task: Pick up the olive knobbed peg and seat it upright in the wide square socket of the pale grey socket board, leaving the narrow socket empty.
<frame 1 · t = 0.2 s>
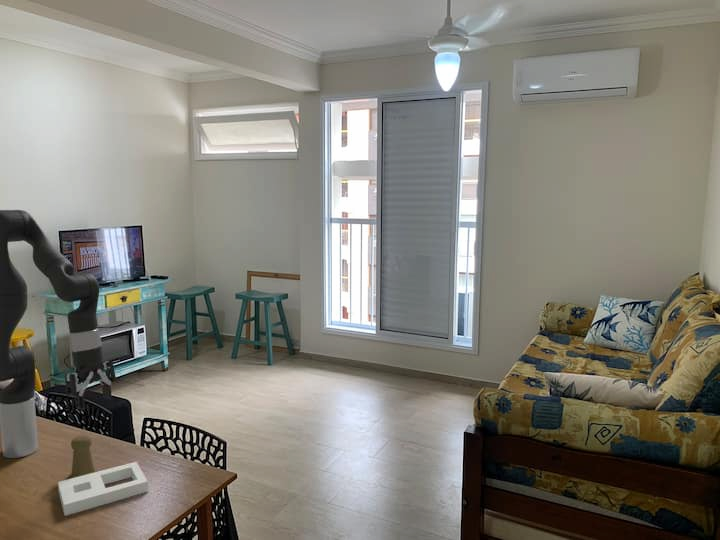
hand: (94, 403, 147), 22 cm above the table, fingers open, 8 cm apart
socket board: (103, 491, 144), on the table
olive knobbed peg: (83, 473, 153), on the table
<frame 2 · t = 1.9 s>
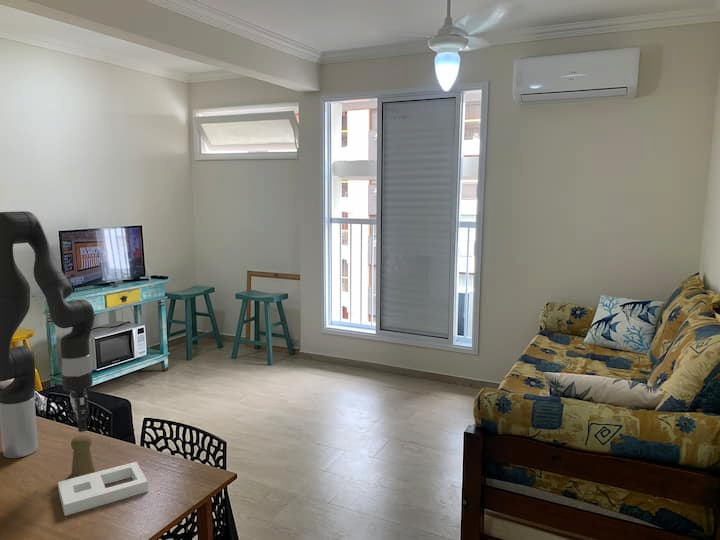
hand: (80, 425, 151), 14 cm above the table, fingers open, 8 cm apart
nothing on the table moved.
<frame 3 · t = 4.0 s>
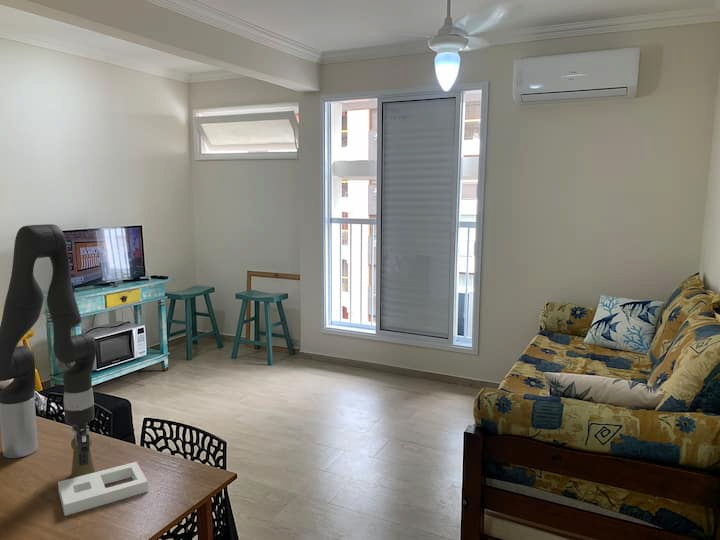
hand: (82, 460, 153), 4 cm above the table, fingers closed on olive knobbed peg, 4 cm apart
olive knobbed peg: (83, 473, 153), on the table, touching gripper
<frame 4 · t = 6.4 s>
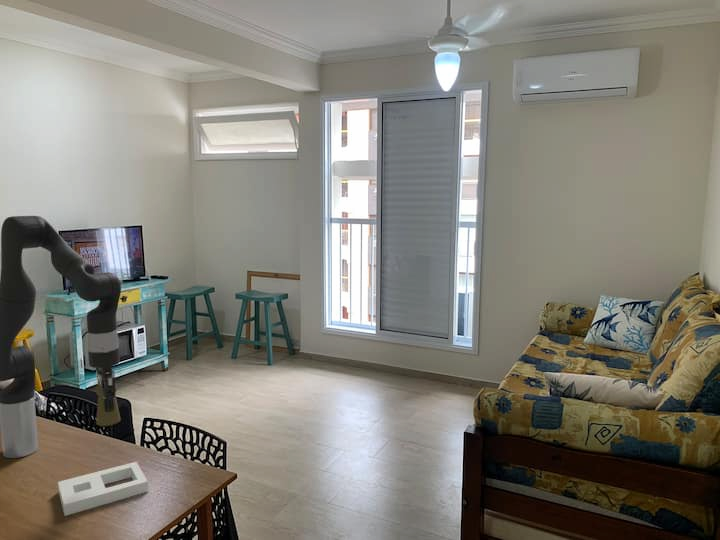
hand: (107, 408, 145), 22 cm above the table, fingers closed on olive knobbed peg, 4 cm apart
olive knobbed peg: (108, 422, 145), point 18 cm above the table, touching gripper
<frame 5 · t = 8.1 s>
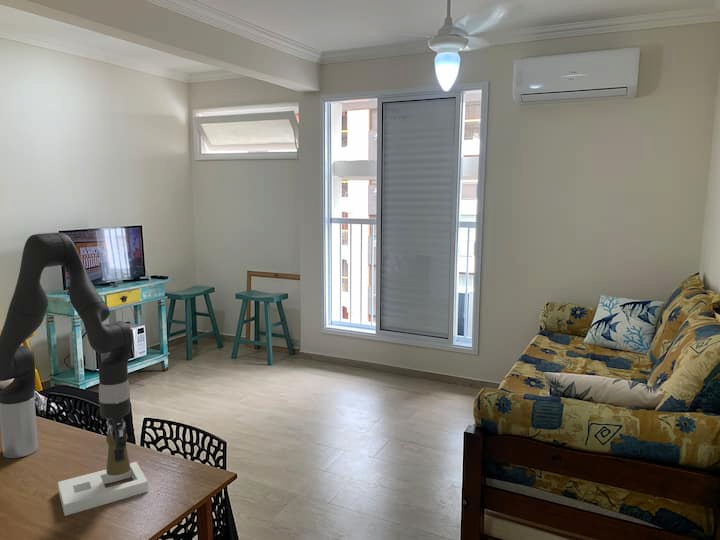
hand: (117, 456, 145), 9 cm above the table, fingers closed on olive knobbed peg, 4 cm apart
olive knobbed peg: (118, 470, 145), point 5 cm above the table, touching gripper
when the fingers open (5 cm above the table, at t = 9.3 s): olive knobbed peg drops 1 cm, resting in socket board.
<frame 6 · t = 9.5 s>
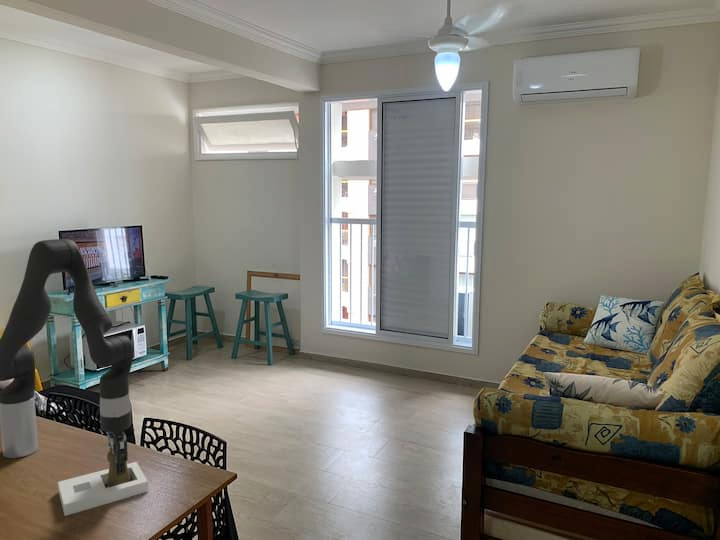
hand: (118, 468, 145), 6 cm above the table, fingers open, 6 cm apart
olive knobbed peg: (119, 487, 146), resting in socket board
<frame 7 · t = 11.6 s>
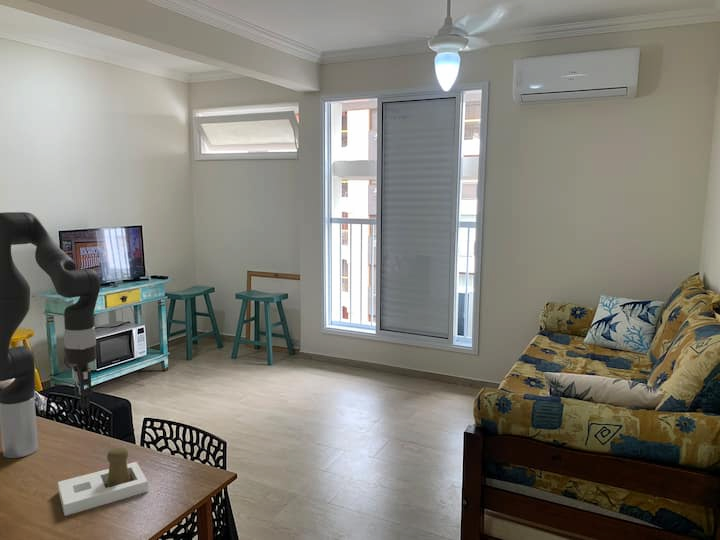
hand: (82, 401, 144), 24 cm above the table, fingers open, 8 cm apart
nothing on the table moved.
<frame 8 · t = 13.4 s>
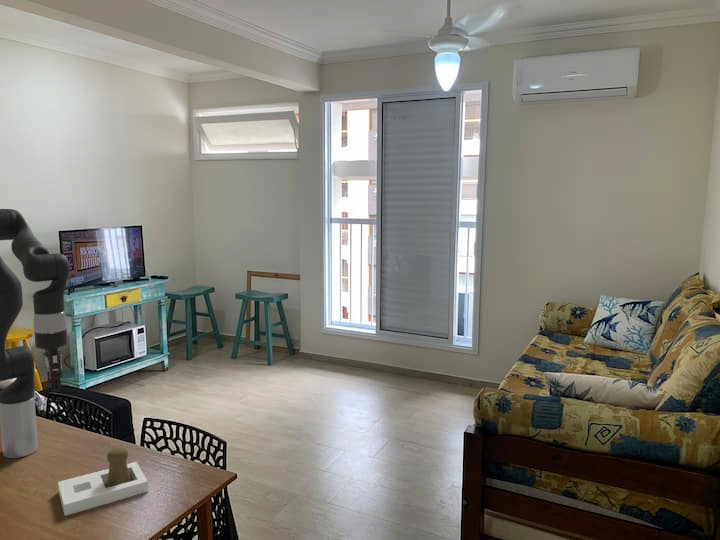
hand: (54, 386, 144), 28 cm above the table, fingers open, 8 cm apart
nothing on the table moved.
at the end: olive knobbed peg 0.3 cm from the target spot on the socket board, point 0.0 cm above the socket board's base; olive knobbed peg tilted 0°; the gripper is holding nothing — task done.
